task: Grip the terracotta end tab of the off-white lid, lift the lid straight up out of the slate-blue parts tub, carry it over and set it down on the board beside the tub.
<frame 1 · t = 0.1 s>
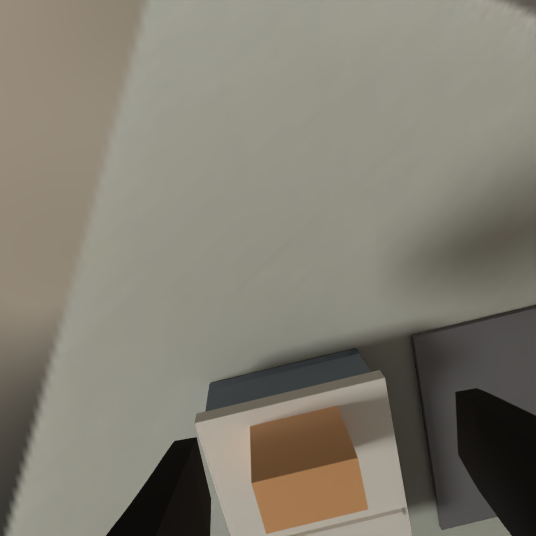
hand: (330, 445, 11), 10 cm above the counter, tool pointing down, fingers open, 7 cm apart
board: (502, 418, 23), on the counter
lid: (309, 478, 21), point 2 cm above the counter, touching tub
tub: (303, 451, 23), on the counter
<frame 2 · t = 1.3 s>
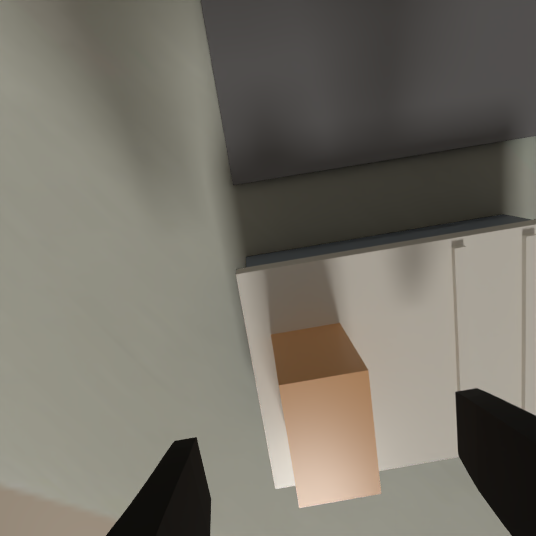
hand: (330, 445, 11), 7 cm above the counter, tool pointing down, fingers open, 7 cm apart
board: (383, 35, 15), on the counter
lid: (399, 342, 16), point 2 cm above the counter, touching tub
tub: (383, 323, 18), on the counter
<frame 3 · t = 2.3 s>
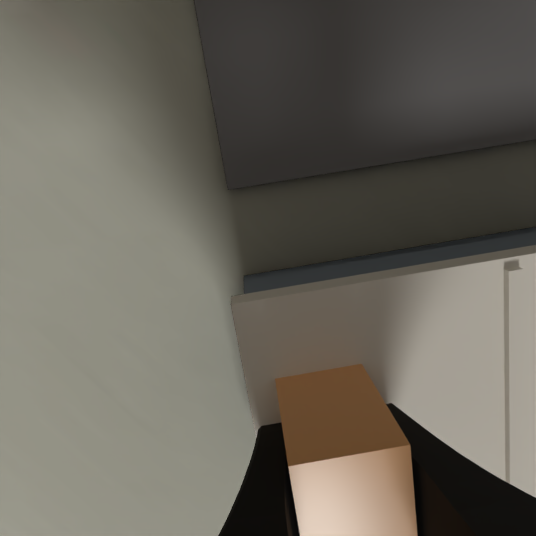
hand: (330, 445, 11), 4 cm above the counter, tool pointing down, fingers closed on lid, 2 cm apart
board: (412, 6, 12), on the counter
lid: (430, 380, 13), point 2 cm above the counter, touching gripper, tub
tub: (406, 352, 15), on the counter
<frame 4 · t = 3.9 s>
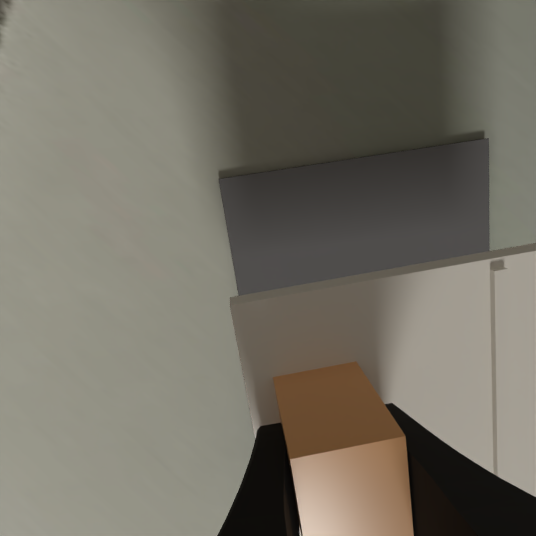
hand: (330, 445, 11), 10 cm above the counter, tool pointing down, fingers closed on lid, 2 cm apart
board: (361, 249, 20), on the counter
lid: (421, 377, 14), point 8 cm above the counter, touching gripper
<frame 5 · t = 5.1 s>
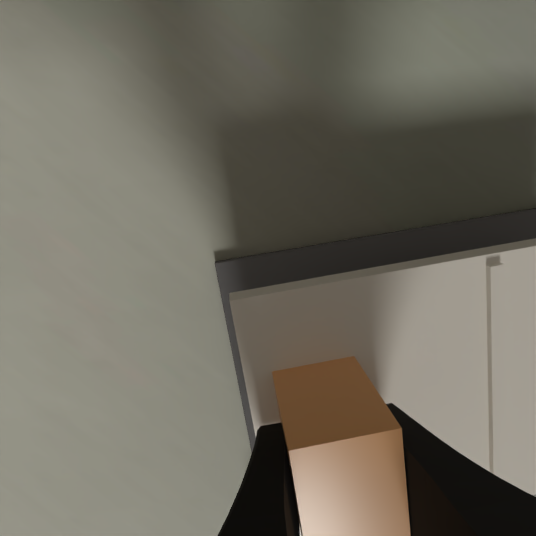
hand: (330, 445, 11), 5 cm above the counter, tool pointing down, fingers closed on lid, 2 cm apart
board: (399, 343, 16), on the counter
lid: (418, 371, 14), point 2 cm above the counter, touching gripper
when the fingers open (3 cm above the counter, at t = 5.7 s): lid stays where it is, resting on board.
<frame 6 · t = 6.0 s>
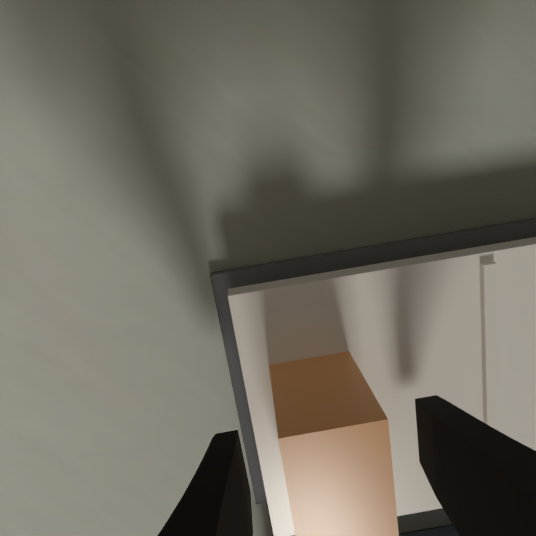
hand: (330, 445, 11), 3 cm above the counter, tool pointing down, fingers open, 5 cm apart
board: (415, 362, 14), on the counter
lid: (415, 368, 14), resting on board
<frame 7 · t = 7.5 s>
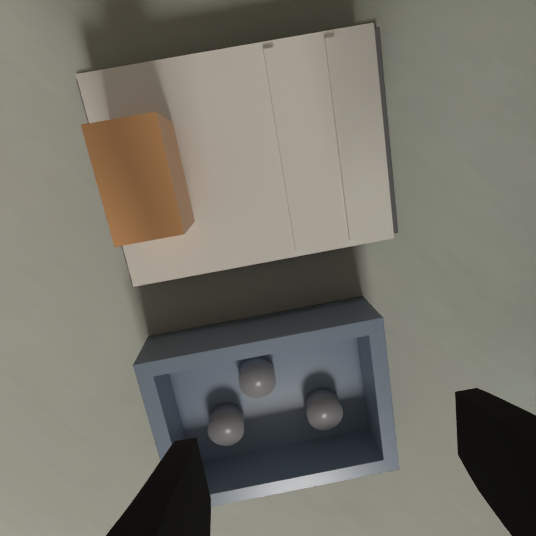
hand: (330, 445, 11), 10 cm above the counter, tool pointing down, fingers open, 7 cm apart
board: (248, 161, 18), on the counter
lid: (246, 162, 18), resting on board
tub: (269, 385, 21), on the counter
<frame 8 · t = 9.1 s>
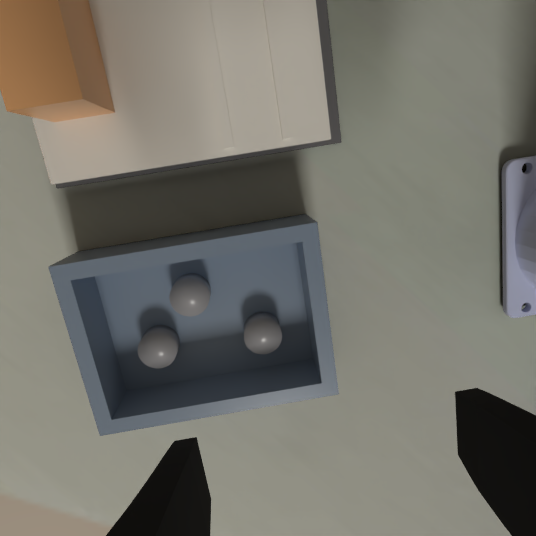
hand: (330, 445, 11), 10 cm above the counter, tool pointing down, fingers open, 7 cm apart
board: (180, 58, 17), on the counter
lid: (176, 58, 17), resting on board
tub: (208, 310, 20), on the counter
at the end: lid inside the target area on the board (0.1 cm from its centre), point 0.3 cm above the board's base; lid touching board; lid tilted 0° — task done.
